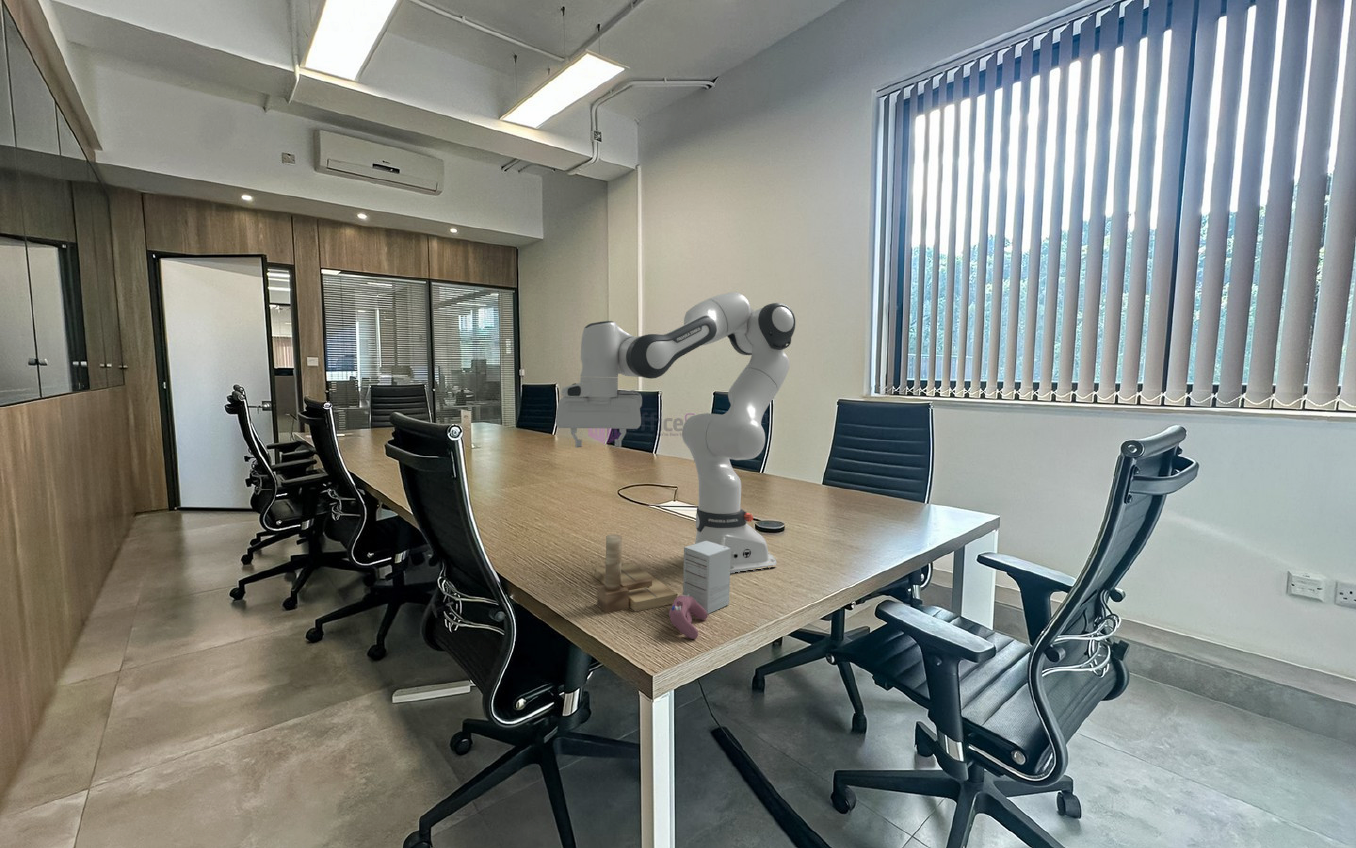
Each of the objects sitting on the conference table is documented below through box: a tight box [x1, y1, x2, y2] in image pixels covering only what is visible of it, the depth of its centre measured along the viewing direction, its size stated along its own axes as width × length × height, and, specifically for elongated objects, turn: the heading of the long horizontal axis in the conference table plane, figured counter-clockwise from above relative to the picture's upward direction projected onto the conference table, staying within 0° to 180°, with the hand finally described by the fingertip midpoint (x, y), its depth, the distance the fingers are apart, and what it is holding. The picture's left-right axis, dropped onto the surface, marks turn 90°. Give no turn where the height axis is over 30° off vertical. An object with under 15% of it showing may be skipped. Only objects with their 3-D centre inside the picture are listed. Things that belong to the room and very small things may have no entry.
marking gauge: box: [596, 534, 652, 615], centre depth 115 cm, size 11×5×15 cm, turn 121°
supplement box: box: [682, 541, 731, 615], centre depth 116 cm, size 7×7×13 cm
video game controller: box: [668, 594, 708, 640], centre depth 105 cm, size 10×5×7 cm, turn 164°
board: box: [594, 562, 678, 613], centre depth 124 cm, size 22×10×2 cm, turn 31°
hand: (598, 447), depth 131 cm, fingers open, 8 cm apart
